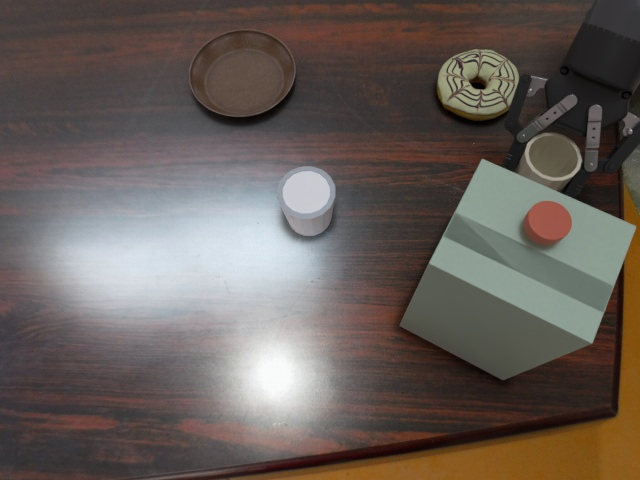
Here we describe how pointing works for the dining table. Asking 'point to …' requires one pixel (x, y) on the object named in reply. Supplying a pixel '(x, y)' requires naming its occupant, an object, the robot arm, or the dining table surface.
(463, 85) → the decorated donut
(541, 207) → the brew button
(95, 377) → the dining table surface
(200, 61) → the saucer
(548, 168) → the cream cup
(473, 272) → the box with red button
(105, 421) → the dining table surface
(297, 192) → the white short cylinder
